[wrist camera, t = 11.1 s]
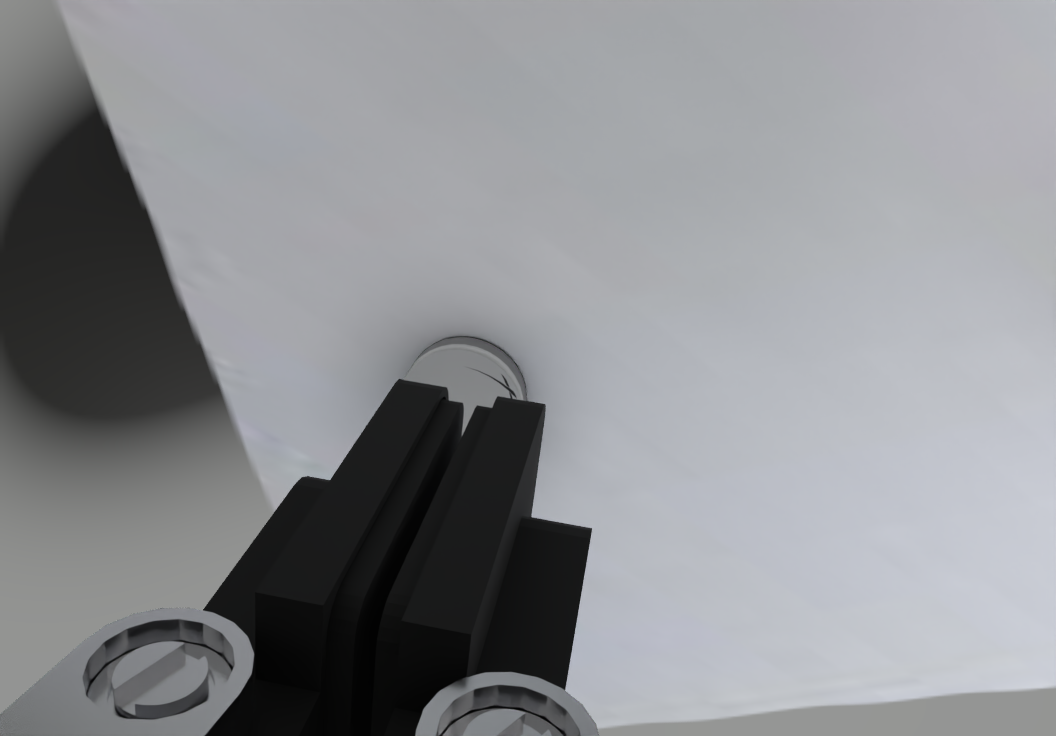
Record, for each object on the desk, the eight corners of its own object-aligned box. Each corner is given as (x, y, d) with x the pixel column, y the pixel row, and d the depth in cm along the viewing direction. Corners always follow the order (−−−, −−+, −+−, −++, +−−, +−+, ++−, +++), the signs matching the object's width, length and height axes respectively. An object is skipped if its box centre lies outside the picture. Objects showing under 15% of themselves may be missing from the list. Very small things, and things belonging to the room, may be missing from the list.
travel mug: (530, 335, 48) (435, 570, 30) (524, 450, 51) (433, 730, 33) (409, 322, 49) (245, 544, 31) (409, 437, 52) (257, 702, 34)
